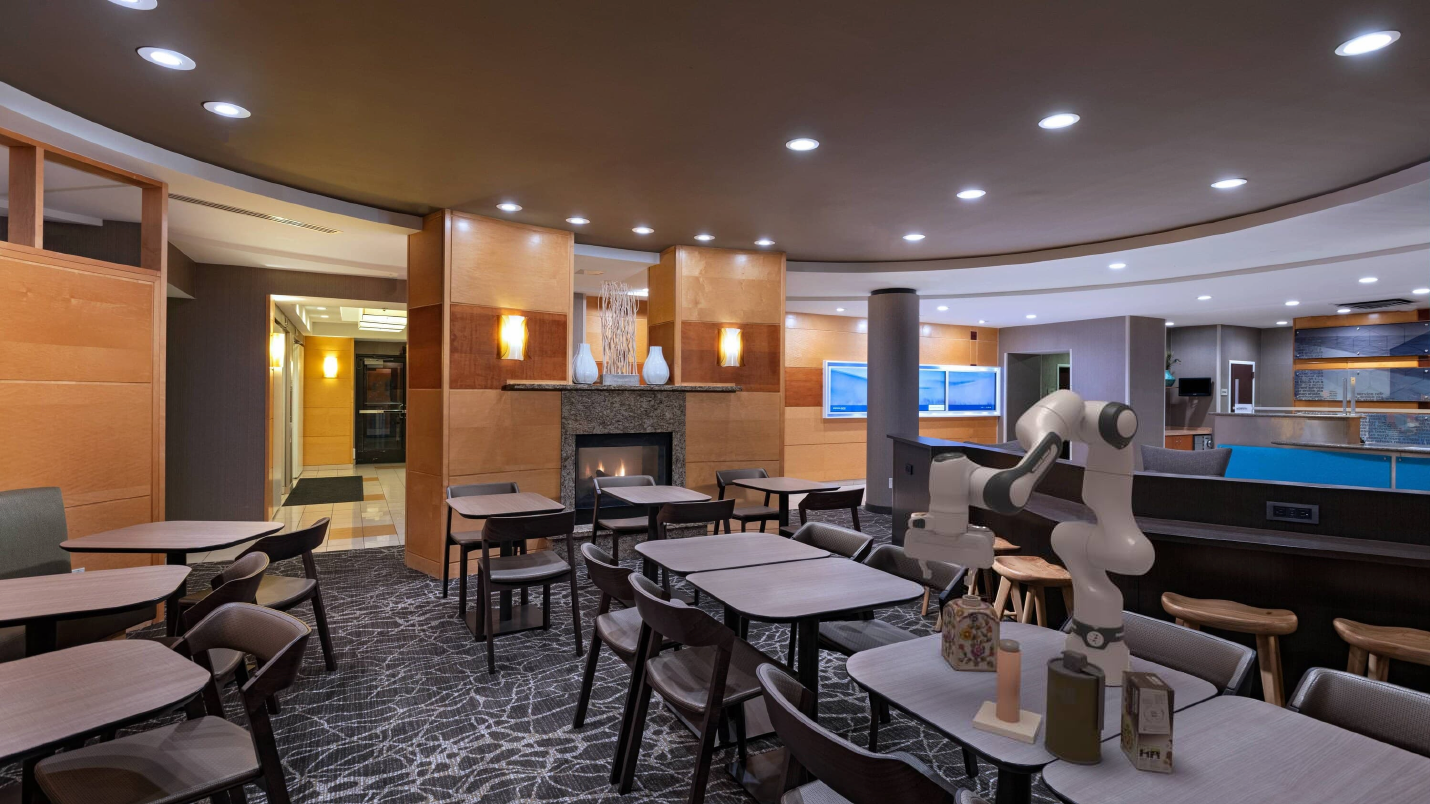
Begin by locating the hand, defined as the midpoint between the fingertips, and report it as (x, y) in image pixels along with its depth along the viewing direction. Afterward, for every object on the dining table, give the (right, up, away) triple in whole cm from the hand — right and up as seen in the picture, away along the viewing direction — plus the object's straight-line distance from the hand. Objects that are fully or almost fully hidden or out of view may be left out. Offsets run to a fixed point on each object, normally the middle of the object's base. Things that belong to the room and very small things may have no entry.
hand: (947, 581), depth 160 cm
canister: (+18, -29, -21) cm, 41 cm away
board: (+10, -29, -10) cm, 32 cm away
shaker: (+10, -27, -10) cm, 31 cm away
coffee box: (+32, -30, -24) cm, 49 cm away
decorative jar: (+14, -29, +24) cm, 40 cm away
